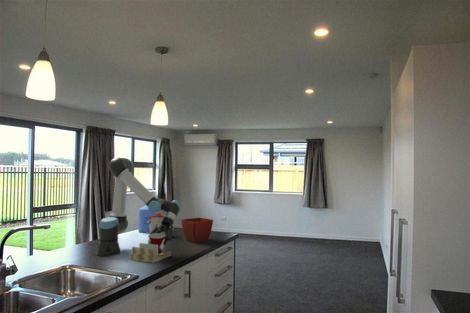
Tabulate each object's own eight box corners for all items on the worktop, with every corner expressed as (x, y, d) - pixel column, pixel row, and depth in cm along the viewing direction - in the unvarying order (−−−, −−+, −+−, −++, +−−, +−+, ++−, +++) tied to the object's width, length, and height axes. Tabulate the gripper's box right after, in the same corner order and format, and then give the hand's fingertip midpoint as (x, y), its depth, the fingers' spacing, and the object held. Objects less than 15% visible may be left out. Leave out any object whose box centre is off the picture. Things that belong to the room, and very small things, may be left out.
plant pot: (180, 240, 277) (180, 219, 277) (199, 237, 289) (199, 217, 290) (193, 244, 262) (194, 222, 263) (213, 241, 275) (213, 219, 276)
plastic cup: (148, 255, 218) (149, 236, 218) (148, 251, 228) (148, 233, 229) (166, 254, 221) (166, 236, 221) (165, 250, 231) (165, 232, 231)
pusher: (139, 255, 221) (139, 243, 221) (140, 255, 222) (140, 243, 222) (157, 258, 215) (157, 245, 216) (157, 257, 216) (158, 244, 217)
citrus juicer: (145, 235, 299) (145, 211, 300) (165, 233, 306) (165, 211, 307) (148, 238, 285) (149, 213, 286) (169, 236, 292) (169, 212, 293)
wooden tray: (130, 259, 216) (131, 247, 216) (149, 253, 233) (149, 241, 234) (153, 262, 209) (153, 249, 209) (170, 255, 227) (171, 243, 227)
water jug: (134, 232, 313) (135, 201, 314) (146, 229, 327) (147, 199, 328) (147, 233, 306) (148, 201, 307) (159, 230, 320) (159, 200, 321)
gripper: (184, 224, 235) (171, 253, 220) (157, 222, 244) (142, 249, 228) (180, 217, 230) (166, 246, 215) (153, 215, 239) (137, 243, 224)
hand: (154, 248), depth 222 cm, fingers closed on plastic cup, 9 cm apart
